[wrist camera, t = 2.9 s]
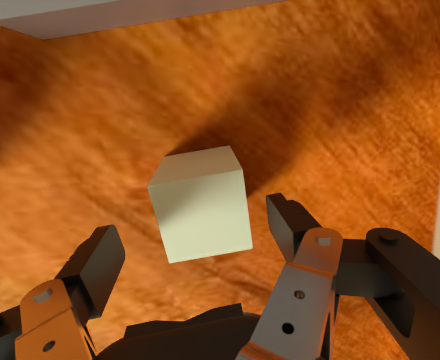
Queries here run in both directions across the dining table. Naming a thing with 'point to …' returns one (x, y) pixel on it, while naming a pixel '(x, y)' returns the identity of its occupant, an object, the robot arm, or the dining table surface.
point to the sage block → (201, 204)
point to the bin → (102, 14)
